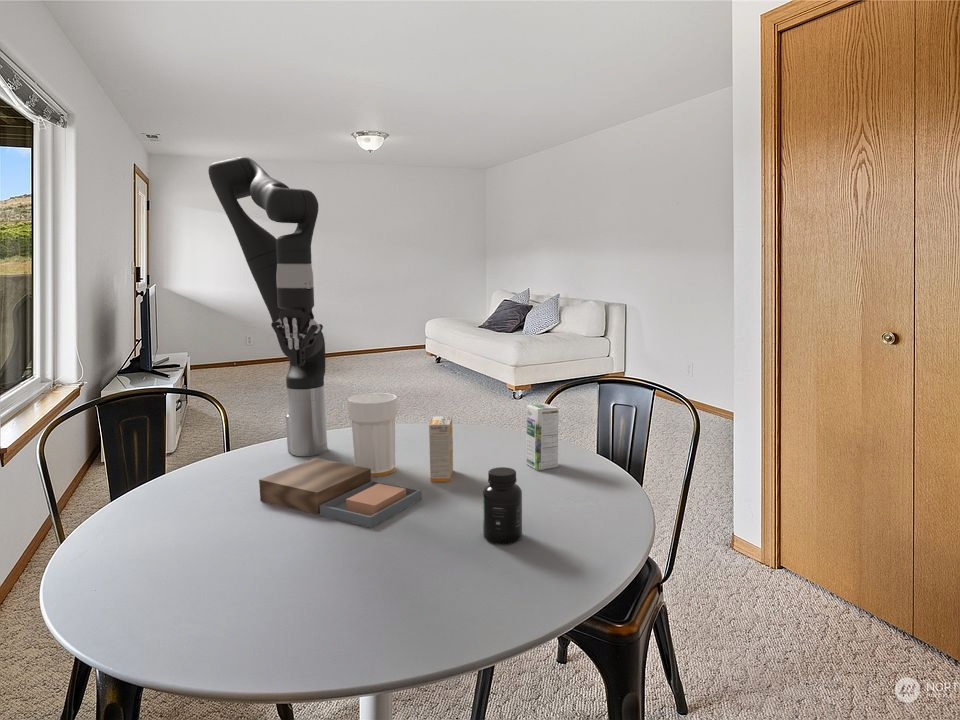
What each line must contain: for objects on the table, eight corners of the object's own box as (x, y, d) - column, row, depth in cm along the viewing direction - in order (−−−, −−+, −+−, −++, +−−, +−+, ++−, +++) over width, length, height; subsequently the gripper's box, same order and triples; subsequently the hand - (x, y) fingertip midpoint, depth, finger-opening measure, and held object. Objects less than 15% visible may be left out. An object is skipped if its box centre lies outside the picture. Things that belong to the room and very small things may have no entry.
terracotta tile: (374, 505, 120) (375, 518, 120) (406, 488, 128) (406, 500, 129) (345, 499, 123) (346, 511, 123) (378, 483, 132) (378, 494, 132)
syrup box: (525, 464, 152) (525, 404, 150) (546, 460, 154) (546, 402, 152) (537, 471, 147) (537, 409, 145) (559, 467, 149) (559, 407, 147)
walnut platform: (260, 500, 131) (259, 479, 130) (316, 477, 145) (315, 458, 144) (318, 514, 123) (317, 492, 122) (371, 488, 137) (370, 468, 136)
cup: (390, 480, 142) (387, 403, 140) (343, 477, 145) (339, 402, 142) (406, 464, 153) (403, 393, 151) (361, 461, 155) (358, 392, 153)
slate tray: (320, 515, 123) (319, 505, 123) (373, 489, 137) (372, 480, 136) (371, 527, 117) (370, 517, 116) (421, 499, 130) (421, 489, 130)
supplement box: (451, 482, 140) (450, 424, 138) (429, 482, 140) (428, 424, 138) (454, 470, 148) (452, 415, 146) (433, 470, 149) (431, 415, 147)
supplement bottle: (476, 540, 111) (475, 474, 109) (494, 526, 117) (493, 463, 115) (512, 548, 108) (511, 480, 106) (528, 533, 114) (528, 468, 112)
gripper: (258, 285, 135) (262, 366, 137) (306, 286, 129) (309, 371, 131) (284, 284, 141) (288, 361, 144) (331, 285, 135) (333, 366, 138)
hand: (298, 366), depth 138 cm, fingers closed
